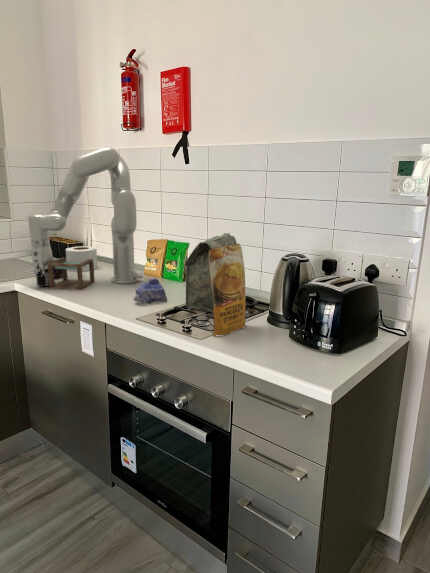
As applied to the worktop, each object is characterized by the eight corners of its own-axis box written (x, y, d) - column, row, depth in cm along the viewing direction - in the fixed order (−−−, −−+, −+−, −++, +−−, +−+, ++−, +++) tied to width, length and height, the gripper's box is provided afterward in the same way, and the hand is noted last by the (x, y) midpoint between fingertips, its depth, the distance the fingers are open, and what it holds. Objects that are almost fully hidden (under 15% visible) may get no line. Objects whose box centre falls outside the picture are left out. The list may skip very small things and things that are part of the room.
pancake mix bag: (199, 334, 140) (200, 247, 133) (237, 320, 154) (240, 241, 147) (215, 340, 136) (217, 250, 129) (253, 325, 149) (256, 243, 142)
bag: (209, 294, 186) (210, 230, 179) (243, 300, 179) (246, 233, 172) (181, 308, 166) (181, 236, 160) (218, 315, 159) (220, 240, 152)
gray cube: (53, 282, 197) (52, 271, 196) (47, 285, 192) (46, 274, 191) (42, 282, 197) (41, 271, 196) (37, 285, 193) (35, 274, 191)
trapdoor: (87, 264, 200) (87, 262, 200) (77, 269, 189) (77, 267, 189) (66, 263, 201) (65, 261, 201) (54, 268, 190) (54, 266, 190)
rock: (39, 280, 210) (50, 283, 204) (34, 263, 207) (45, 265, 201) (61, 272, 218) (72, 275, 212) (57, 256, 215) (68, 258, 209)
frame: (94, 281, 203) (93, 258, 201) (81, 289, 189) (80, 265, 187) (64, 280, 205) (63, 257, 202) (49, 288, 191) (47, 263, 188)
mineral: (155, 274, 181) (169, 277, 173) (159, 296, 183) (172, 300, 176) (124, 283, 172) (137, 287, 165) (128, 306, 175) (141, 311, 167)
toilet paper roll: (60, 269, 229) (59, 248, 226) (84, 264, 241) (83, 244, 239) (80, 273, 221) (79, 252, 218) (103, 267, 233) (102, 247, 230)
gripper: (38, 246, 181) (43, 288, 186) (57, 239, 198) (61, 278, 202) (21, 246, 182) (27, 288, 187) (42, 239, 198) (46, 278, 203)
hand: (45, 282), depth 195 cm, fingers closed on gray cube, 5 cm apart
